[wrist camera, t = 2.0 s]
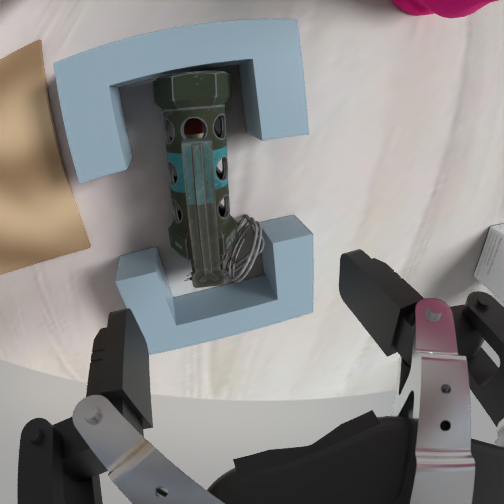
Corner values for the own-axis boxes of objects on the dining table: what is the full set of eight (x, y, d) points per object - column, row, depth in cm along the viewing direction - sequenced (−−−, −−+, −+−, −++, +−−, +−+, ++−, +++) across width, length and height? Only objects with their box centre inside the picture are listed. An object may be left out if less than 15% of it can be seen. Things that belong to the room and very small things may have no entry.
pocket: (71, 67, 14) (53, 63, 11) (277, 29, 16) (297, 19, 14) (149, 326, 26) (149, 354, 23) (297, 288, 28) (313, 312, 25)
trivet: (-56, 99, 11) (-59, 99, 10) (41, 40, 12) (39, 39, 12) (-2, 273, 19) (-4, 275, 19) (90, 245, 21) (89, 247, 20)
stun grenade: (157, 80, 17) (177, 261, 24) (142, 74, 12) (174, 312, 19) (250, 74, 18) (253, 253, 25) (273, 66, 13) (271, 301, 20)
